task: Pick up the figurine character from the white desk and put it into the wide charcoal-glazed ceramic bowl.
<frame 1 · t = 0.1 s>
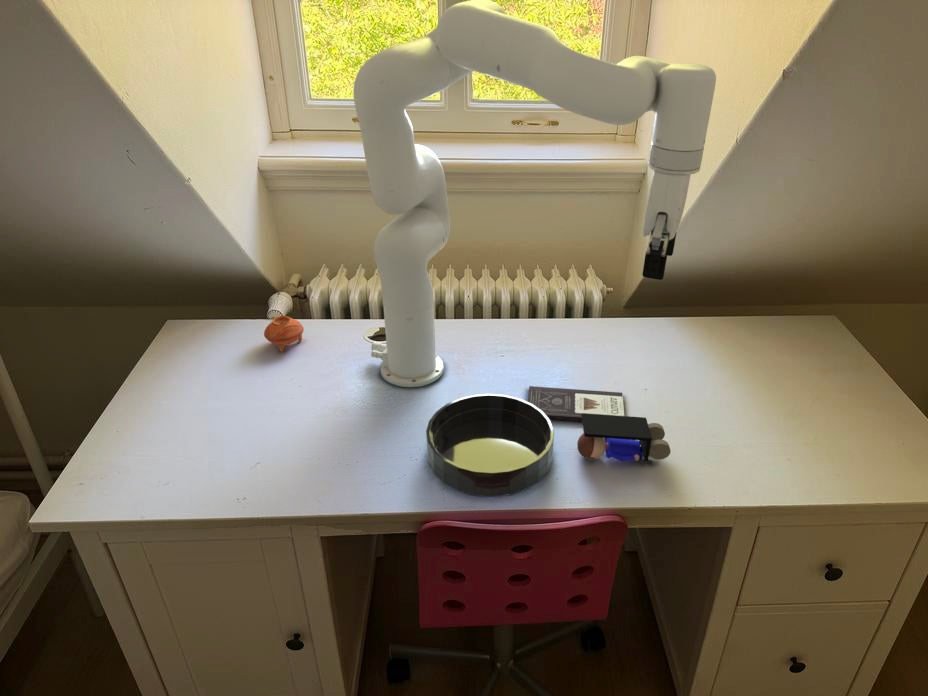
hand: (657, 265, 110), 31 cm above the table, tool pointing down, fingers open, 9 cm apart
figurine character: (619, 457, 119), on the table
bowl: (489, 455, 118), on the table
chocolate bar: (575, 407, 131), on the table
pot: (286, 345, 146), on the table
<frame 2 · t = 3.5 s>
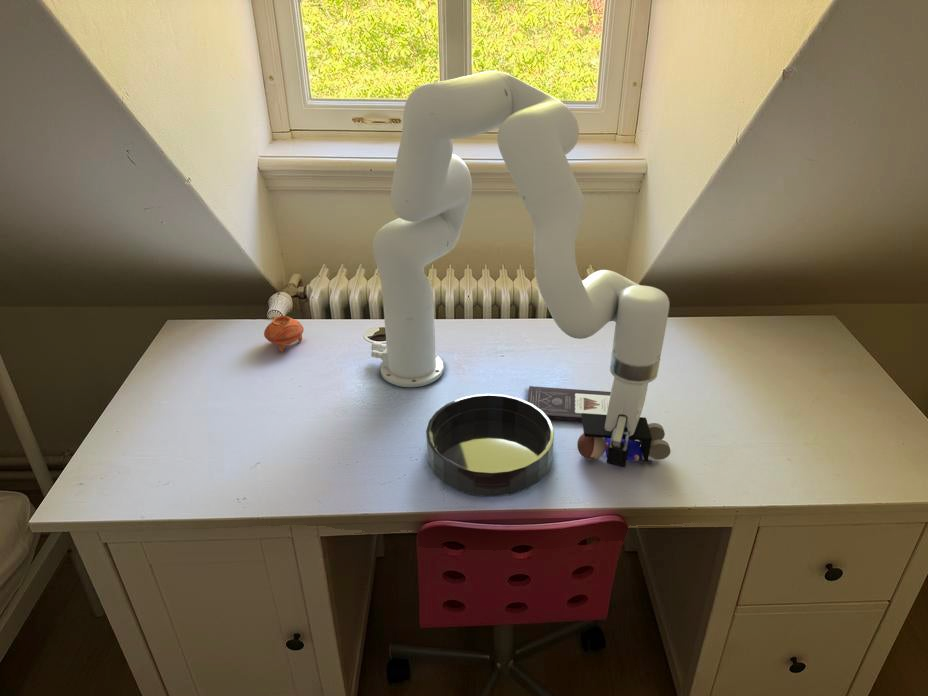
hand: (621, 449, 118), 2 cm above the table, tool pointing down, fingers closed on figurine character, 7 cm apart
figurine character: (619, 457, 119), on the table, touching gripper
everything else where it was.
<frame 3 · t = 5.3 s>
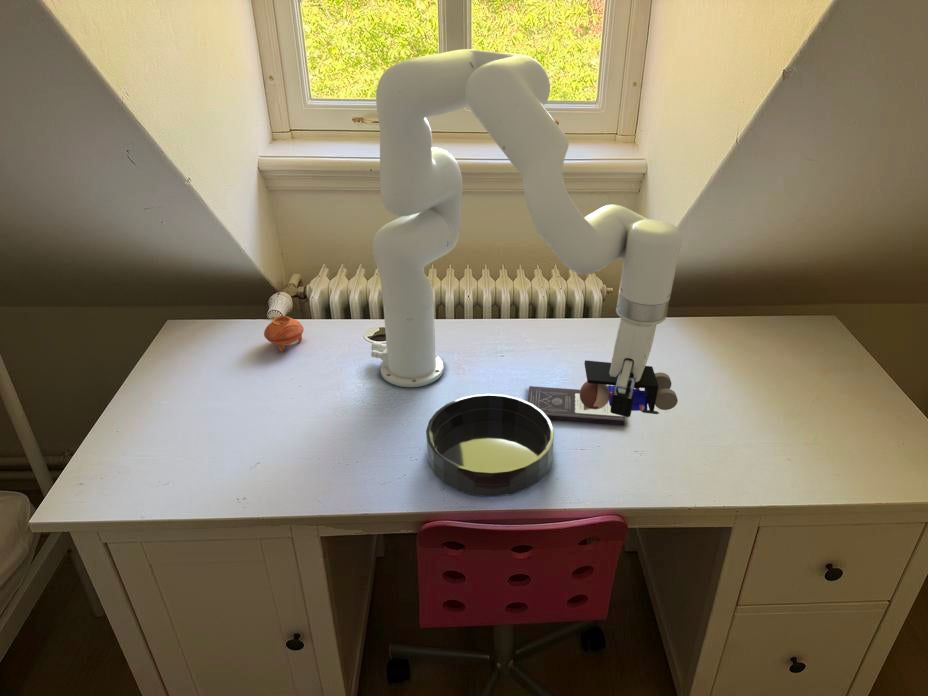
hand: (625, 399, 113), 12 cm above the table, tool pointing down, fingers closed on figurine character, 7 cm apart
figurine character: (623, 408, 114), point 10 cm above the table, touching gripper
everything else where it was.
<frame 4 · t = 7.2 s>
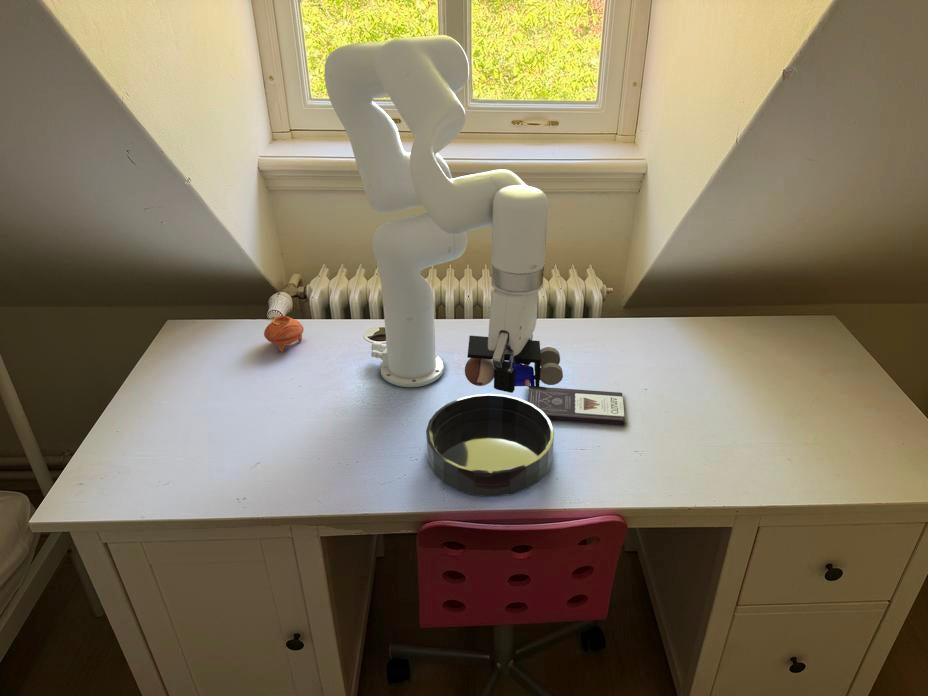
hand: (512, 375, 109), 16 cm above the table, tool pointing down, fingers closed on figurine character, 7 cm apart
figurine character: (512, 384, 110), point 15 cm above the table, touching gripper
everything else where it was.
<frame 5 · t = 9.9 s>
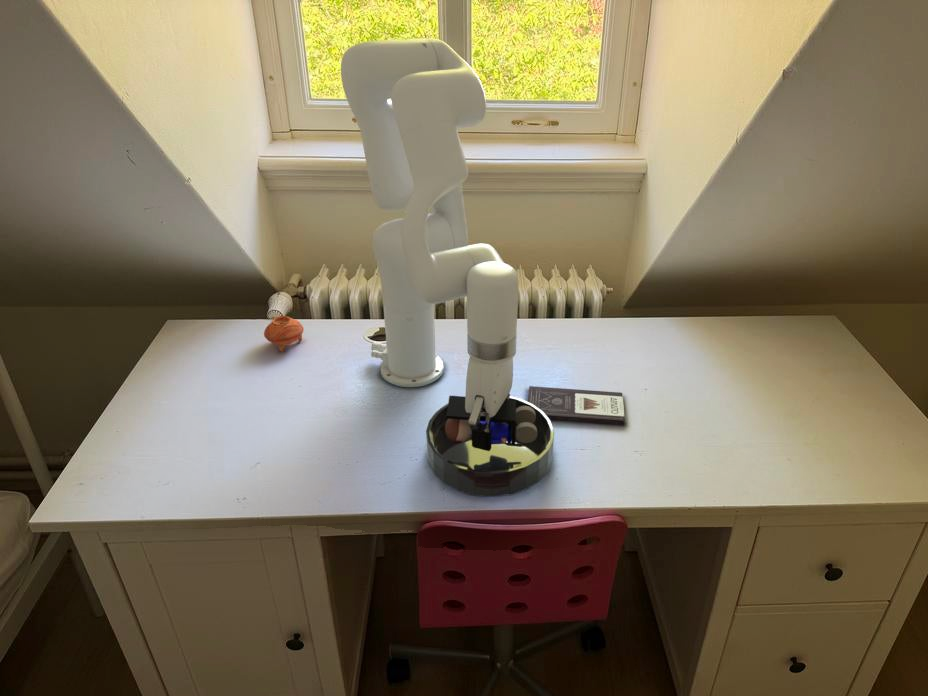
hand: (490, 433, 115), 5 cm above the table, tool pointing down, fingers closed on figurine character, 7 cm apart
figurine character: (490, 441, 116), point 3 cm above the table, touching gripper
everything else where it was.
when the fingers open (2 cm above the table, at t = 11.3 s): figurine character stays where it is, resting on bowl.
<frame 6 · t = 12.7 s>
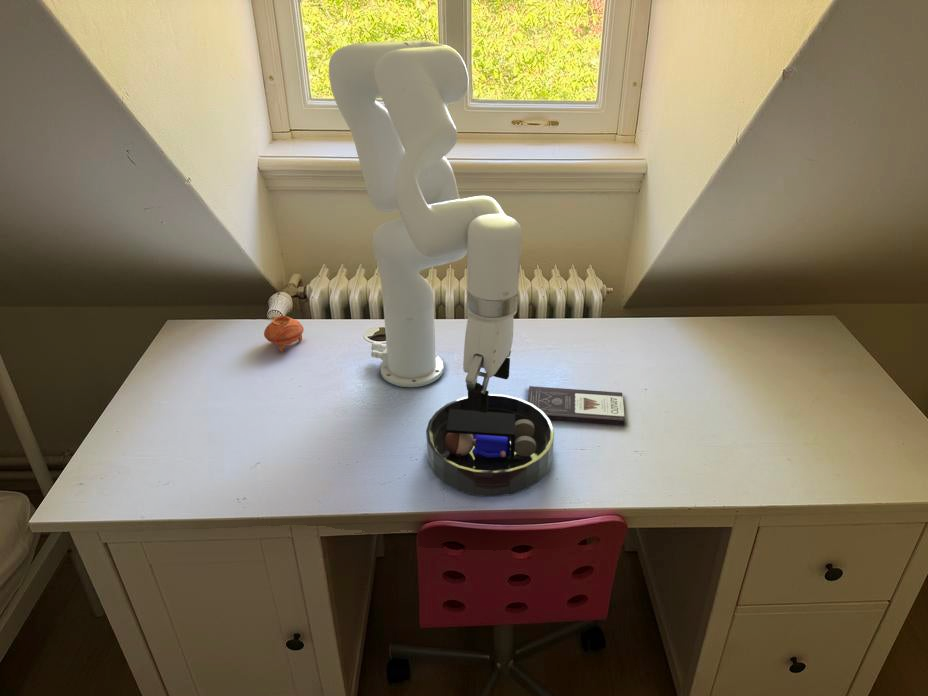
hand: (488, 392, 112), 13 cm above the table, tool pointing down, fingers open, 9 cm apart
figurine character: (489, 454, 118), resting on bowl
everything else where it was.
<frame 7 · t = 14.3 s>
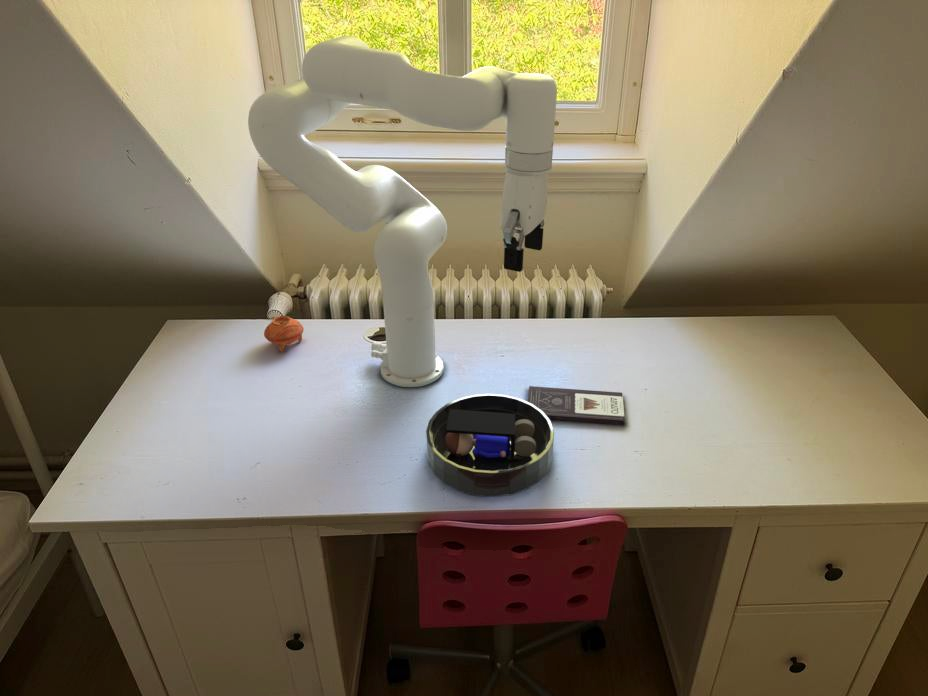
hand: (523, 258, 119), 28 cm above the table, tool pointing down, fingers open, 9 cm apart
nothing on the table moved.
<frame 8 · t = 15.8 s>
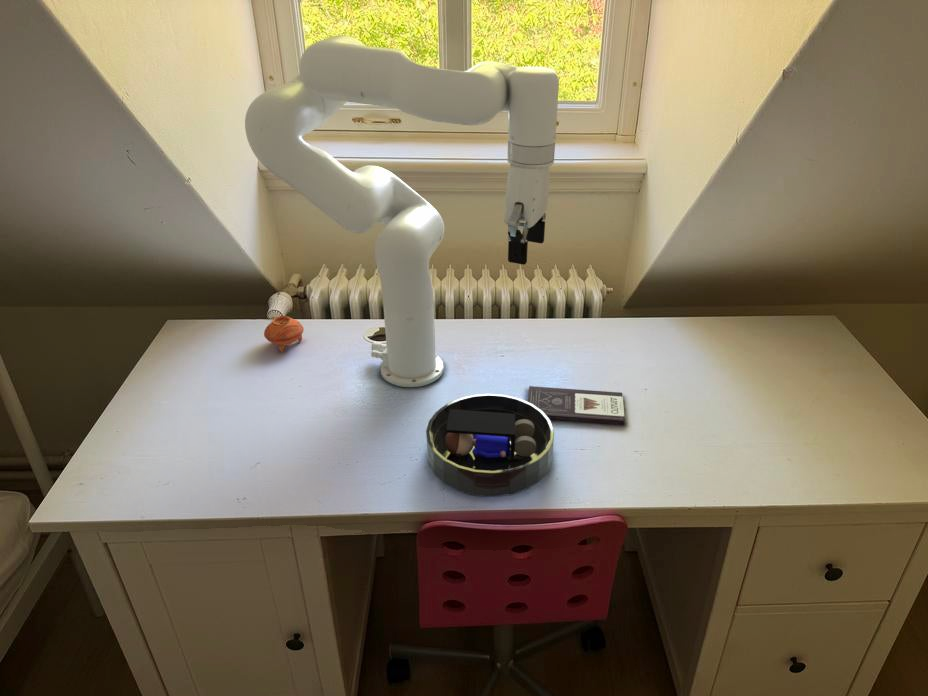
hand: (526, 251, 120), 28 cm above the table, tool pointing down, fingers open, 9 cm apart
nothing on the table moved.
at the end: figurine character inside the target area in the bowl (0.1 cm from its centre), point 0.4 cm above the bowl's base; the gripper is holding nothing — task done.
